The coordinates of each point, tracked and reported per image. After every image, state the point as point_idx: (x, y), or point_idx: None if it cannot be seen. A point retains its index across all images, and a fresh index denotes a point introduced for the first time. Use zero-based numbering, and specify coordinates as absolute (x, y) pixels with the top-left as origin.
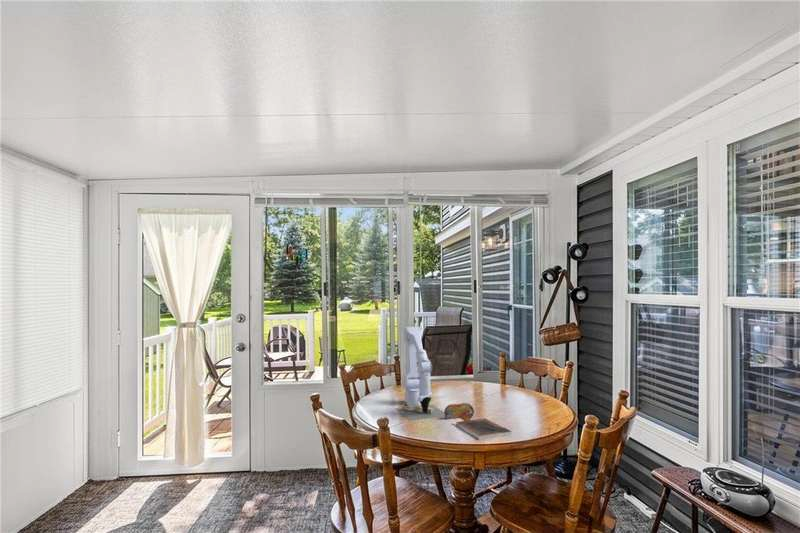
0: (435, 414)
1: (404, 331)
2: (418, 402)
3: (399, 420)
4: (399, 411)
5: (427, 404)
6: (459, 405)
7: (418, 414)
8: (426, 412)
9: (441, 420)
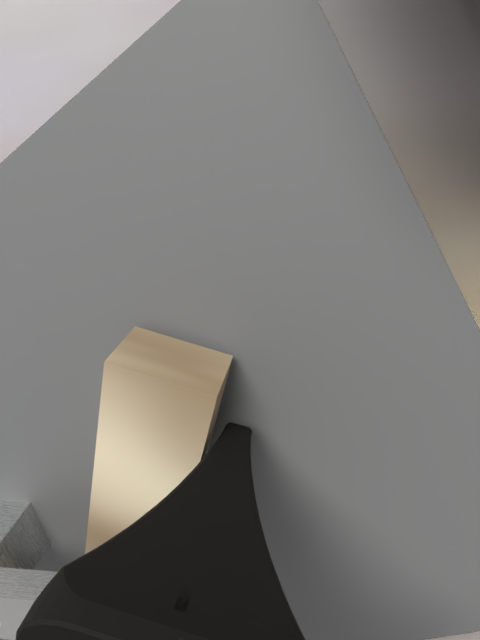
0: (242, 275)
1: None
2: (18, 599)
3: (447, 637)
4: None
5: (263, 549)
6: None
7: (295, 507)
8: (251, 430)
9: (418, 125)
